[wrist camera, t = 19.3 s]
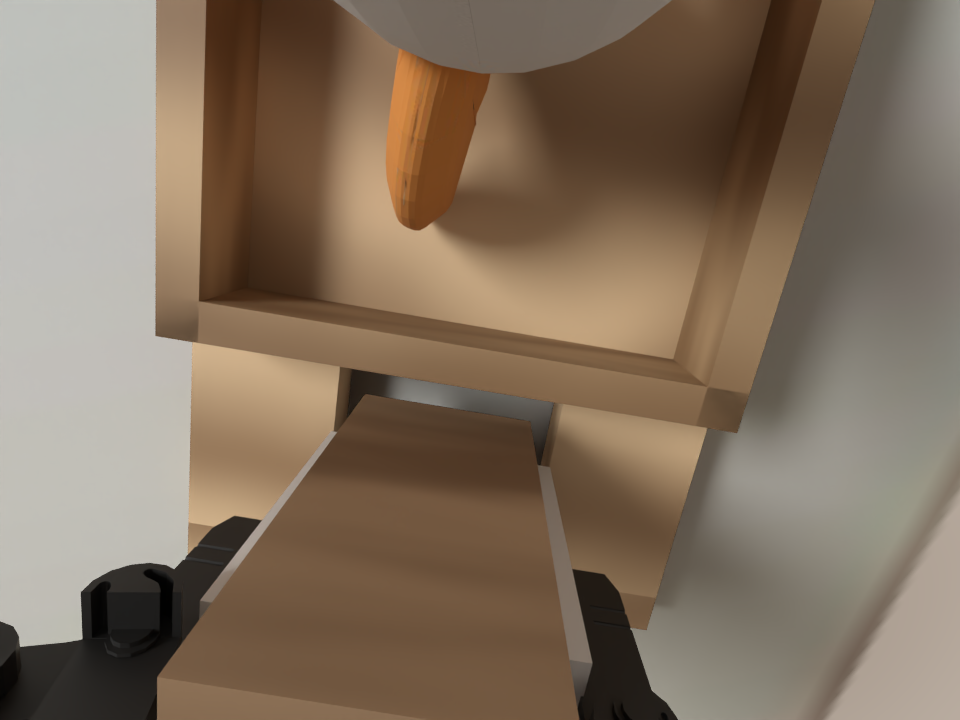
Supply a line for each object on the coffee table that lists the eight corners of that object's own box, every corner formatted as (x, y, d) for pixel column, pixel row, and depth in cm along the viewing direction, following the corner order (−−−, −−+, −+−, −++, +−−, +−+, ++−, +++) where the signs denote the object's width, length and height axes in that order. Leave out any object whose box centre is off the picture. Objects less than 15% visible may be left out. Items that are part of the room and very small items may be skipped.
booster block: (365, 393, 14) (157, 676, 5) (530, 421, 14) (583, 744, 6) (348, 538, 15) (156, 957, 7) (501, 562, 15) (506, 1011, 7)
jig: (242, -322, 12) (127, -567, 8) (867, -206, 13) (1031, -392, 9) (212, 529, 18) (136, 612, 15) (634, 598, 19) (670, 697, 15)
